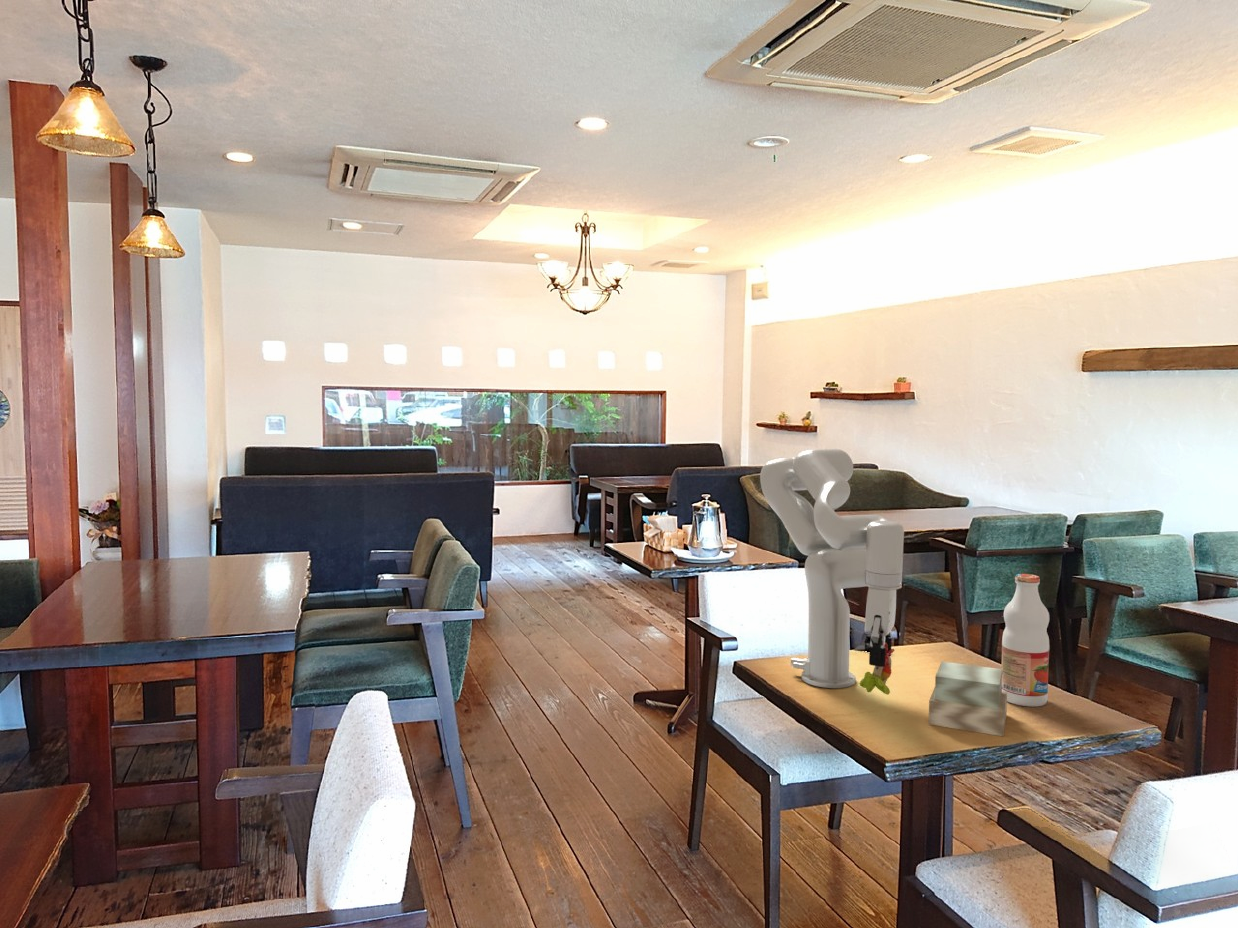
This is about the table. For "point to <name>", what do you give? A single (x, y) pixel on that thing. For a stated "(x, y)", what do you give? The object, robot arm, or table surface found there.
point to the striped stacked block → (968, 699)
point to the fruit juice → (1025, 645)
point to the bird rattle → (878, 675)
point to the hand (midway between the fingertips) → (880, 659)
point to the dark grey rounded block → (866, 647)
